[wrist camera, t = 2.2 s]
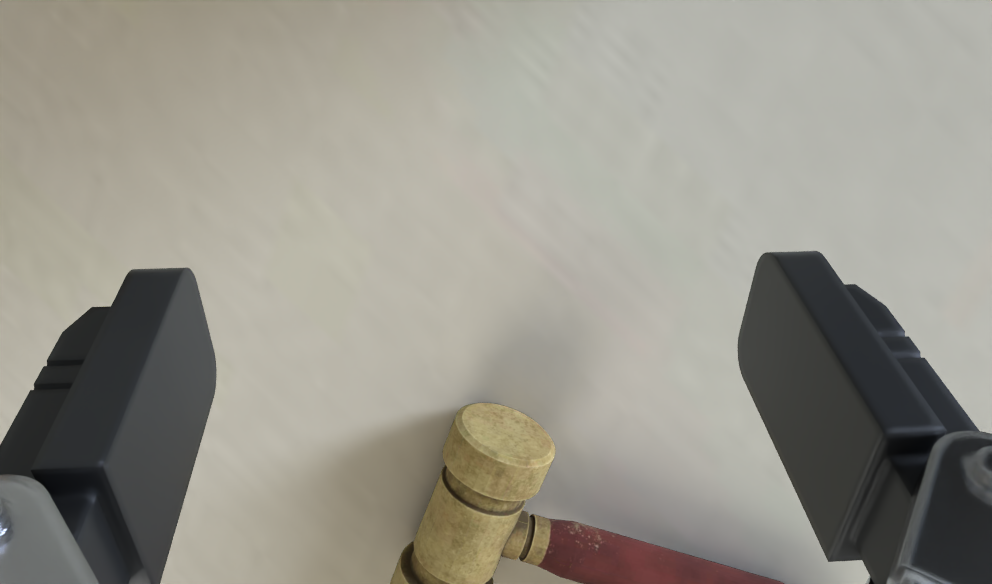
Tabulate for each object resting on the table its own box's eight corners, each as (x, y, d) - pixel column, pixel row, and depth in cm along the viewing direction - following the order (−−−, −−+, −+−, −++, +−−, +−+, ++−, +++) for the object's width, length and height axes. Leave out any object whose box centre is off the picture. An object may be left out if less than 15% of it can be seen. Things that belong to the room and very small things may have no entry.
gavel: (910, 580, 35) (802, 737, 39) (864, 514, 40) (770, 662, 43) (455, 444, 32) (382, 627, 36) (458, 388, 37) (392, 557, 40)
